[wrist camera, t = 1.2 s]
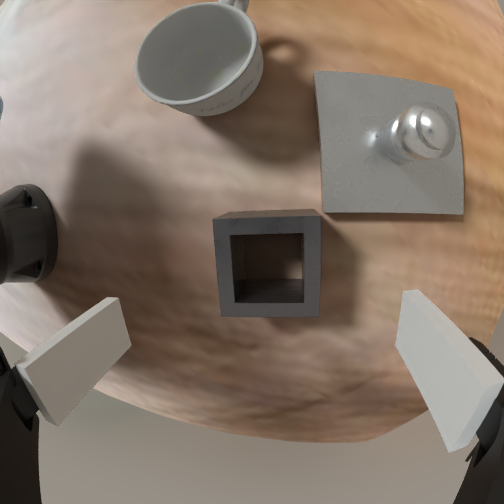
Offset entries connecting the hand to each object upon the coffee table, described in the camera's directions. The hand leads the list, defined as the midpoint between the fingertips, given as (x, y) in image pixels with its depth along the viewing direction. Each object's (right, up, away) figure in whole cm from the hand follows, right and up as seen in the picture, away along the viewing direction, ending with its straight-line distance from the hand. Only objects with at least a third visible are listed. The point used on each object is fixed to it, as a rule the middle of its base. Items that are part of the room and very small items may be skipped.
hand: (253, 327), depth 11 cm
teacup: (-3, +23, +13) cm, 26 cm away
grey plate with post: (+14, +14, +12) cm, 23 cm away
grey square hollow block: (+2, +3, +16) cm, 17 cm away
